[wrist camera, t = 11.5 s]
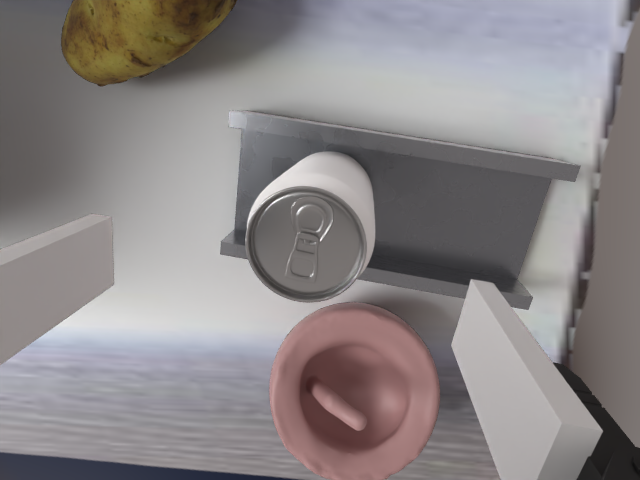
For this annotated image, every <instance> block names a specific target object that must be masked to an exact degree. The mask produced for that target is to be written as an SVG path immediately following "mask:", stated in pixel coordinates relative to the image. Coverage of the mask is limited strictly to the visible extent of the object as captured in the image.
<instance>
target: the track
mask: <svg viewBox="0 0 640 480" xmlns="http://www.w3.org/2000/svg"><path fill="white" fill-rule="evenodd" d="M229 127H233V128H239V129H242V137H241V150H240V164H239V177H238V190H237V203H236V216H235V229H234V230H233V231H232V232H231V233H230V234H229V235H228V236H227V237H226V238H224V239H223V240H222V241H221V251H220V254H221V255H227V256H232V257H238V258H243V259H248V257H247V253H246V246H245V237H246V230H247V222H248V217H249V214H250V211H251V208H252V206H253V204H254V202H255V201H256V199H257V197H258V196H259V195H260V193H261V192H262V191H263V190H264V189H265V188H266V187H267V186H268V185H269V184H270V183H272V182H273V181H274V180H275V179H277V178H278V177H279V176H281V175H282V174H283V173H284V172H286V171H287V170H288V169H290V168H291V167H293V166H294V165H295V164H297V163H298V162H299V161H301V160H302V159H304V158H306V157H307V156H309V155H312V154H314V153H318V152H327V151H331V152H339V153H343V154H346V155H348V156H350V157H352V158H353V159H354V160H356V161H357V162H358V163H359V164H360V165H361V166H362V167H363V168H364V170H365V171H366V173H367V175H368V177H369V179H370V182H371V185H372V190H373V200H374V214H375V244H374V249H373V253H372V256H371V258H370V261H369V263H368V265H367V266H366V268H365V270H364V271H363V272H362V274H361V275H360V276H359V277H358V278H357V279H360V280H365V281H371V282H376V283H382V284H387V285H393V286H398V287H404V288H410V289H415V290H421V291H426V292H432V293H437V294H443V295H448V296H454V297H459V298H466V294H467V291H468V288H469V284H470V281H471V279H473V280H479V281H485V282H491V283H494V285H495V286H496V287H497V289H498V290H499V292H500V293H501V294H502V296H503V297H504V298H505V300H506V301H507V302H508V304H509V305H510V306H511V307H515V308H520V309H526V310H528V309H529V307H530V304H531V301H532V298H533V297H532V295H531V294H530V293H529V292H528V291H527V290H526V289H525V288H524V286H523V285H522V284H521V283H520V282H519V281H518V280H517V278H518V275H519V272H520V269H521V266H522V264H523V261H524V258H525V255H526V252H527V249H528V246H529V243H530V240H531V237H532V234H533V231H534V228H535V226H536V223H537V220H538V217H539V214H540V211H541V208H542V205H543V202H544V199H545V196H546V193H547V190H548V188H549V185H550V182H551V179H552V178H553V179H559V180H566V181H572V182H575V180H576V177H577V174H578V172H579V169H580V165H576V164H572V163H568V162H564V161H561V160H557V159H553V158H548V157H541V156H535V155H528V154H522V153H516V152H509V151H503V150H496V149H490V148H484V147H477V146H471V145H464V144H458V143H452V142H445V141H439V140H432V139H426V138H420V137H413V136H407V135H400V134H394V133H388V132H381V131H375V130H368V129H362V128H356V127H349V126H343V125H336V124H330V123H324V122H317V121H311V120H304V119H298V118H292V117H285V116H279V115H272V114H266V113H260V112H253V111H229Z"/></svg>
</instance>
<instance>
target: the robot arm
mask: <svg viewBox="0 0 640 480" xmlns="http://www.w3.org/2000/svg"><path fill="white" fill-rule="evenodd" d="M113 285H114V263H113V235H112V217H109V216H103V215H97V214H90V215H87V216H84V217H82V218H79V219H77V220H74V221H72V222H69V223H66V224H64V225H61V226H59V227H56V228H54V229H51V230H49V231H46V232H43V233H41V234H38V235H36V236H33V237H31V238H28V239H26V240H23V241H20V242H18V243H15V244H13V245H10V246H8V247H5V248H3V249H0V365H1V364H3V363H4V362H6V361H7V360H8V359H10V358H11V357H13V356H14V355H15V354H17V353H18V352H20V351H21V350H22V349H24V348H25V347H27V346H28V345H29V344H31V343H32V342H34V341H35V340H36V339H38V338H39V337H41V336H42V335H44V334H45V333H46V332H48V331H49V330H51V329H52V328H53V327H55V326H56V325H58V324H59V323H60V322H62V321H63V320H65V319H66V318H67V317H69V316H70V315H72V314H73V313H75V312H76V311H77V310H79V309H80V308H82V307H83V306H84V305H86V304H87V303H89V302H90V301H91V300H93V299H94V298H96V297H97V296H98V295H100V294H101V293H103V292H104V291H105V290H107V289H108V288H110V287H111V286H113ZM451 347H452V349H453V352H454V355H455V357H456V360H457V363H458V366H459V368H460V371H461V374H462V376H463V379H464V382H465V384H466V387H467V390H468V393H469V395H470V398H471V401H472V403H473V406H474V409H475V411H476V414H477V417H478V420H479V422H480V425H481V428H482V430H483V433H484V436H485V438H486V441H487V444H488V446H489V449H490V452H491V455H492V457H493V460H494V463H495V465H496V468H497V471H498V473H499V476H500V479H501V480H640V448H638V447H635V446H634V444H633V443H632V442H631V441H630V439H629V438H628V437H627V436H626V434H625V433H624V432H623V431H622V430H621V428H620V427H619V426H618V424H617V423H616V422H615V421H614V419H613V418H612V417H611V416H610V415H609V413H608V412H607V411H606V410H605V408H602V407H601V403H600V402H599V401H598V400H597V398H596V397H595V396H594V395H592V392H591V391H590V390H589V388H588V387H587V386H586V385H585V383H584V382H583V381H582V380H581V378H579V377H578V376H577V375H575V374H574V373H573V372H572V371H570V370H569V369H568V368H567V367H565V366H564V365H563V364H558V363H552V362H551V360H550V359H549V357H548V356H547V355H546V353H545V352H544V351H543V349H542V348H541V347H540V345H539V344H538V343H537V341H536V340H535V339H534V337H533V336H532V335H531V333H530V332H529V331H528V329H527V328H526V327H525V325H524V324H523V322H522V321H521V320H520V318H519V317H518V316H517V314H516V313H515V312H514V310H513V309H512V308H511V306H510V305H509V304H508V302H507V301H506V300H505V298H504V297H503V296H502V294H501V293H500V292H499V290H498V289H497V287H496V286H495V285H494V283H491V282H485V281H479V280H473V279H471V281H470V284H469V288H468V291H467V294H466V298H465V301H464V304H463V308H462V311H461V314H460V318H459V321H458V324H457V328H456V331H455V334H454V338H453V341H452V344H451Z"/></svg>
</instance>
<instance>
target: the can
mask: <svg viewBox="0 0 640 480" xmlns="http://www.w3.org/2000/svg"><path fill="white" fill-rule="evenodd" d="M374 244H375V214H374V200H373V190H372V185H371V182H370V179H369V177H368V175H367V173H366V171H365V170H364V168H363V167H362V166H361V165H360V164H359V163H358V162H357V161H356V160H354V159H353V158H352V157H350V156H348V155H346V154H343V153H339V152H331V151H327V152H318V153H314V154H312V155H309V156H307V157H306V158H304V159H302V160H301V161H299V162H298V163H297V164H295V165H294V166H293V167H291V168H290V169H288V170H287V171H286V172H284V173H283V174H282V175H281V176H279V177H278V178H277V179H275V180H274V181H273V182H272V183H270V184H269V185H268V186H267V187H266V188H265V189H264V190H263V191H262V192H261V193H260V195H259V196H258V197H257V199H256V201H255V202H254V204H253V206H252V208H251V211H250V214H249V217H248V222H247V230H246V237H245V246H246V253H247V257H248V260H249V263H250V265H251V267H252V269H253V271H254V272H255V274H256V275H257V277H258V278H259V279H260V280H261V282H262V283H263V284H264V285H265V286H267V287H268V288H269V289H270V290H272V291H273V292H275V293H276V294H278V295H280V296H282V297H285V298H287V299H290V300H294V301H299V302H319V301H324V300H328V299H331V298H333V297H335V296H337V295H339V294H341V293H342V292H344V291H345V290H346V289H348V288H349V287H350V286H351V285H352V284H353V283H354V282H355V280H356V279H357V278H358V277H359V276H360V275H361V274H362V272H363V271H364V270H365V268H366V266H367V265H368V263H369V261H370V258H371V256H372V253H373V249H374Z"/></svg>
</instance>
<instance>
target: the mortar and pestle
mask: <svg viewBox="0 0 640 480" xmlns="http://www.w3.org/2000/svg"><path fill="white" fill-rule="evenodd" d="M269 395H270V405H271V412H272V416H273V420H274V424H275V427H276V429H277V432H278V434H279V436H280V438H281V440H282V442H283V444H284V446H285V447H286V448H287V449H288V451H289V452H290V453H291V454H293V455H294V456H295V457H296V458H297V459H298V460H299V461H300V462H301V463H302V464H304V465H305V466H306V467H307V468H308V469H310V470H311V471H312V472H314V473H315V474H318V475H320V476H322V477H324V478H327V479H331V480H383V479H387V478H388V477H389V476H390V475H392V474H395V473H397V472H399V471H400V470H402V469H403V468H404V467H405V466H406V465H408V464H409V463H411V462H412V461H413V460H414V459H415V458H416V457H417V456H418V455H419V454H420V453H421V451H422V450H423V448H424V447H425V445H426V443H427V441H428V440H429V438H430V436H431V434H432V431H433V429H434V426H435V423H436V420H437V416H438V411H439V404H440V385H439V378H438V373H437V370H436V366H435V363H434V361H433V358H432V356H431V354H430V352H429V350H428V348H427V346H426V345H425V343H424V342H423V340H422V339H421V338H420V336H419V335H418V334H417V333H416V332H415V330H414V329H413V328H412V327H411V326H409V325H408V324H407V323H406V322H405V321H404V320H402V319H401V318H399V317H398V316H396V315H395V314H393V313H391V312H390V311H388V310H385V309H383V308H380V307H377V306H374V305H370V304H366V303H357V302H347V303H338V304H334V305H330V306H327V307H324V308H321V309H319V310H317V311H315V312H313V313H311V314H310V315H308V316H307V317H305V318H304V319H303V320H301V321H300V322H299V323H298V324H297V325H296V326H295V327H294V328H293V329H292V330H291V331H290V333H289V334H288V335H287V336H286V338H285V339H284V341H283V342H282V344H281V346H280V348H279V350H278V352H277V355H276V357H275V360H274V363H273V366H272V370H271V376H270V385H269Z"/></svg>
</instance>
